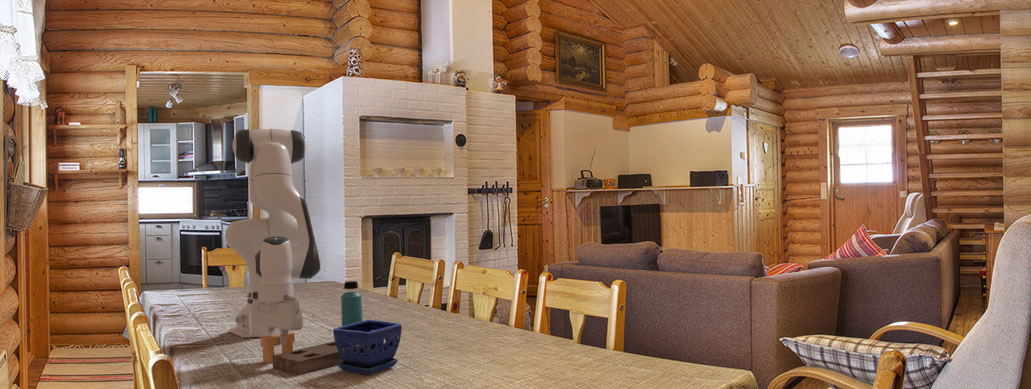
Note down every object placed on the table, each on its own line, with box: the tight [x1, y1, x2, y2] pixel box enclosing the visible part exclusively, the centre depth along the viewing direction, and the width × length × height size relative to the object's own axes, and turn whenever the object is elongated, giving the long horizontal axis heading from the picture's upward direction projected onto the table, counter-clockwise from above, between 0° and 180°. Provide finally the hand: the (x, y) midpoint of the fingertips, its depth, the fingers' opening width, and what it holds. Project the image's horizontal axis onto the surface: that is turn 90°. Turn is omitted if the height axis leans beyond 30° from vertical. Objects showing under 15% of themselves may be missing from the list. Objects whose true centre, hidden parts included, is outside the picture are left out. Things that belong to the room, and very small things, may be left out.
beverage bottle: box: [340, 280, 364, 326], centre depth 209 cm, size 6×7×20 cm
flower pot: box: [332, 319, 402, 376], centre depth 181 cm, size 13×13×12 cm
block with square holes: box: [272, 340, 344, 376], centre depth 191 cm, size 12×24×4 cm, turn 141°
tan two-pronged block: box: [260, 331, 296, 364], centre depth 194 cm, size 9×3×7 cm, turn 141°
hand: (277, 342), depth 194 cm, fingers closed on tan two-pronged block, 3 cm apart
